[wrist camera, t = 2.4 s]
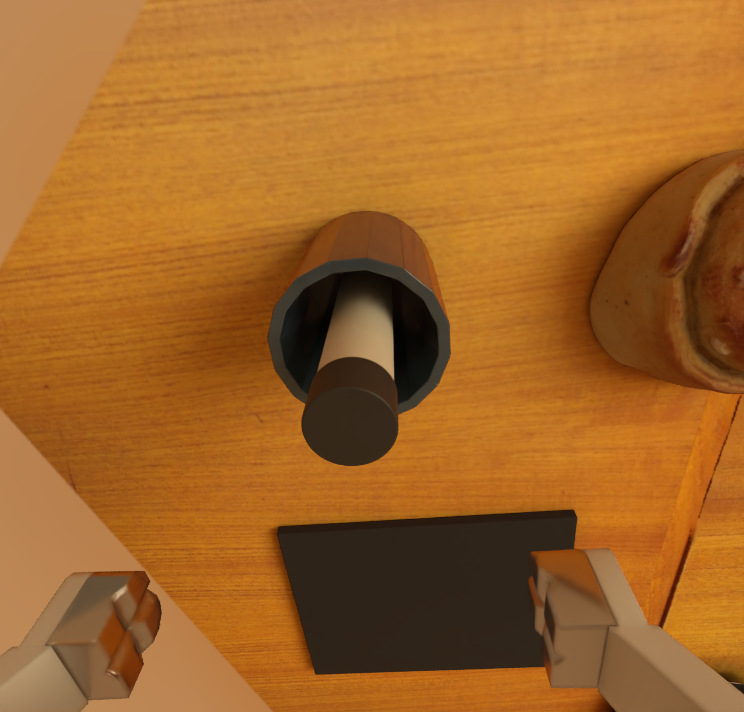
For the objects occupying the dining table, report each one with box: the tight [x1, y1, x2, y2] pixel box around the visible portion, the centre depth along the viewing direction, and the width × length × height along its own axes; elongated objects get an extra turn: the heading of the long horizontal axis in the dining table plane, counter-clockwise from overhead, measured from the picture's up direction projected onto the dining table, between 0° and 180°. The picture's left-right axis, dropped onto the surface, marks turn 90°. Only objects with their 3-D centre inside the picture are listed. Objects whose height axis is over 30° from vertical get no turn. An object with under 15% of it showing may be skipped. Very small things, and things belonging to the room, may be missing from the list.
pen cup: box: [268, 211, 451, 414], centre depth 24 cm, size 7×7×9 cm
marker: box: [301, 270, 398, 466], centre depth 21 cm, size 3×3×14 cm
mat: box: [277, 510, 577, 675], centre depth 40 cm, size 22×18×1 cm
